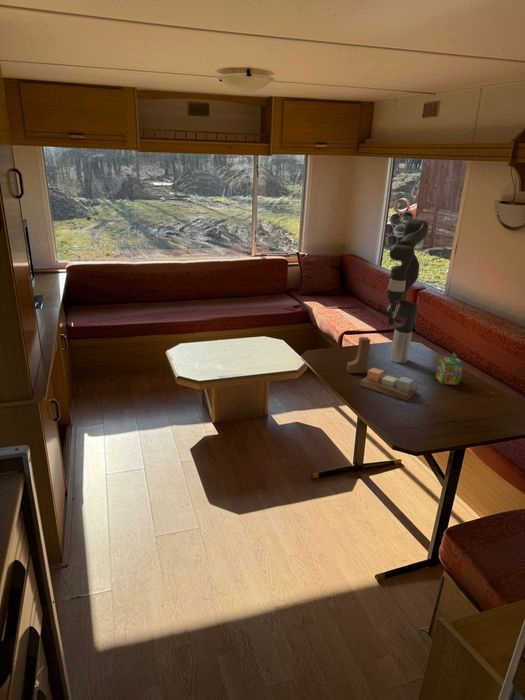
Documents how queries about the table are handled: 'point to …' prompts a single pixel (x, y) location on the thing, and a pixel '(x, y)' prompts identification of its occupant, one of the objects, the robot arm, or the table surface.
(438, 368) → the chalk box
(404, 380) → the slate key
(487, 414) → the table surface
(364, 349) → the wooden block
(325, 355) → the table surface
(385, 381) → the sage key
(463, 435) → the table surface
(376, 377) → the terracotta key
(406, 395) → the wooden tray
